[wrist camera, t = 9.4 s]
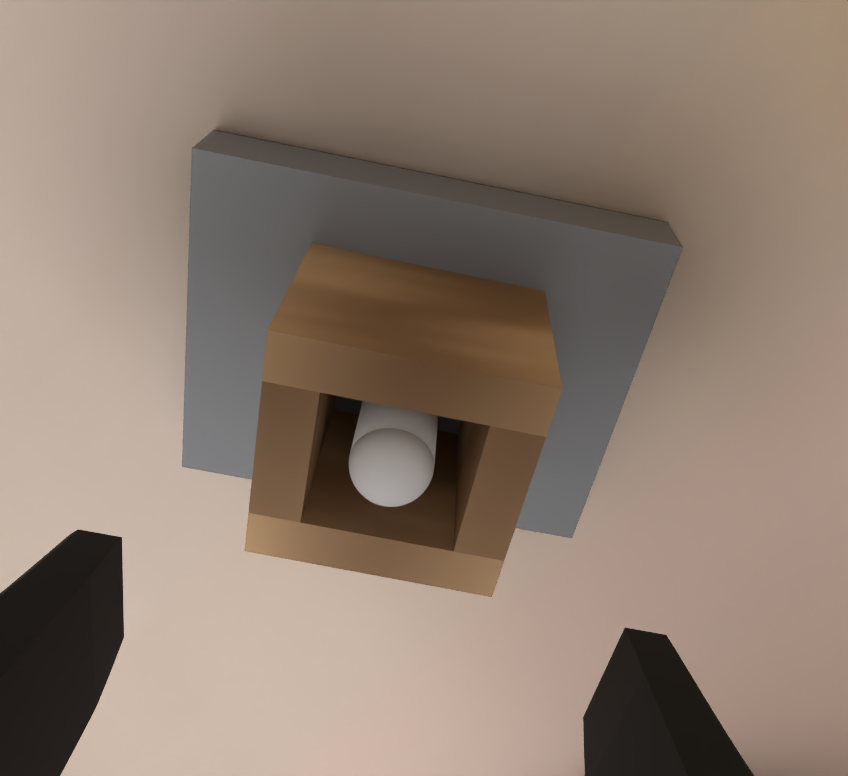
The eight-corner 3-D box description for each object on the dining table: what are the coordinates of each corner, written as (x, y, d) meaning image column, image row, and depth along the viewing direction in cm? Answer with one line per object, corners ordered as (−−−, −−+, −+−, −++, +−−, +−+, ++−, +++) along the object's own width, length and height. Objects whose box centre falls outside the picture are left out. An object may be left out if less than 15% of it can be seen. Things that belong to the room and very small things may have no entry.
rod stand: (667, 222, 17) (746, 350, 12) (566, 500, 21) (593, 682, 16) (213, 130, 17) (100, 223, 12) (200, 433, 21) (112, 597, 16)
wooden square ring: (545, 291, 17) (561, 389, 13) (489, 474, 19) (491, 596, 16) (311, 242, 16) (267, 330, 13) (286, 436, 19) (244, 550, 16)
